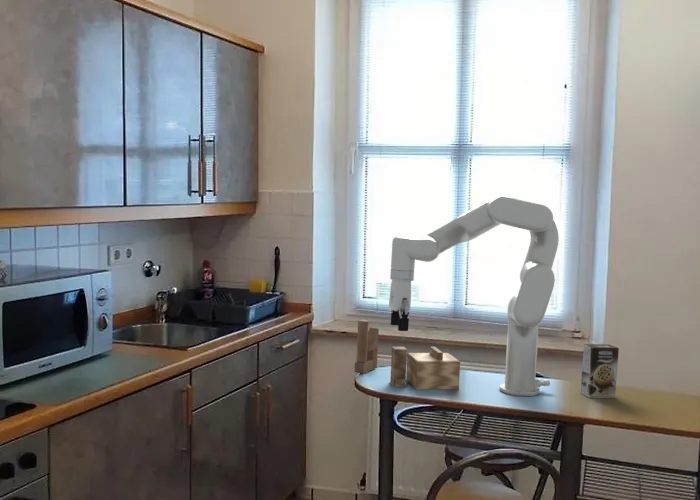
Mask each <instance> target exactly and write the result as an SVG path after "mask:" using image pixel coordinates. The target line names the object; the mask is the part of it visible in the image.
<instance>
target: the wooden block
mask: <svg viewBox="0 0 700 500" xmlns="http://www.w3.org/2000/svg"><path fill="white" fill-rule="evenodd" d="M379 331H380V329H379V327H378V328H377V327H369V320H367V319H359V320H357V339H356V341H357V343H356V361H355V362H354V373H357V374H358V373H359V374H367V373H368V372H370V370H371V371H373V370H375V369H378V350H379V349H378V348H379V333H380V332H379Z"/></svg>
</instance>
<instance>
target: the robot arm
mask: <svg viewBox="0 0 700 500" xmlns="http://www.w3.org/2000/svg"><path fill="white" fill-rule="evenodd" d="M501 224H502V225H506V226H510V227H513V228H516V229H517V228H518V229H522V230H525V231H526V230H527V231H529V235H530V242H529V246H528V249H527V252H526V257H525V259H524V262H523V265H522V267H521V270H520V273H519V280H520V282H521V284H520V287H519V291H518V293H517V294H514V295H513V296H512V298H510V300H509V302H508V305H507V334H506V335H507V337H506V338H507V340H506V353H505V354H506V355H505V356H506V357H505V372H504V374H505V375H504V383H502V384H500V385H499V390H500V391H501V393H504V394H508V395H512V396H520V397H535V396H538V395H539V394H540V392H541V389H540V388H541V387H542V386H543V387H550V385H551V382H550V379H542V378H537V377H536V375H537V361H538V360H537V358H538V343H539V324H540V323H541V322H542V321H543V320H544V317H545V314H546V311H547V308H548V305H549V302H550V299H551V297H552V294H553V290H554V287H555V281H556V278H555V273H554V271H553V269H552V268H553V266H554V262H555V259H556V254H557V251H558V247H559V241H560V240H559V239H560V238H559V237H560V236H559V230H558V226H557V225H556V222H555V220H554V214H553V212H552V210H551V209H550V208H549V207H547V205H544V204H540V203H535V202H531V201H526V200H522V199H518V198H513V197H510V196H506V195H495V196H493V197H491V198H490V199H488V200H486V201H484V202H483V203H480V204H479V205H477V206H475V207H474V208H472V209H470V210H468V211H466V212H464V213H463V214H461V215H459V216H457V217H456V218H454V219H452V220H451V221H449V222H448V223H446V224H444V225H442V226H441V227H439V228H437V229H435V230H434V231H432V232H430V233H428V234H427V235H424V236H422V237H420V238H413V237H410V236H395V237H394V238H393V239H392V241H391V242H392V243H391V260H390V261H391V263H390V276H389V277H390V278H389V279H390V280H391V282H390V289H389V300H388V301H389V302H388V307H389V308H390V309H391V312H390V325H391V326H397V331H399V332H408V331H409V323H410V322H409V321H410V310H411V303H412V282H413V281H414V279H415V263H416V262H415V261H419V262H420V261H421V262H424V263H425V262H426V263H427V262H428V263H429V262H433V261H435V260H436V259H437V258H438V257H439V255H441V254H442V253H443V252H445V251H447V250H449V249H451V248H453V247H455V246H457V245H459V244H462V243H467V242H469V241H472V240H474V239H476V238H478V237H480V236H482V235H483V234H485V233H486V232H489V231H490V230H492V229H494V228H496V227H498V226H500V225H501Z"/></svg>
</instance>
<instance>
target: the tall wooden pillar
mask: <svg viewBox="0 0 700 500" xmlns="http://www.w3.org/2000/svg"><path fill="white" fill-rule="evenodd" d="M407 353H408V349H407V348H406V347H405V346H392V347H391V360H390V362H391V363H390V380H389V381H390V382H389V383H390V384H391V386H392V387H395V382H396V379H405V385H406V383H407V382H406V381H407V380H406V370H407Z"/></svg>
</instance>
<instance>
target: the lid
mask: <svg viewBox="0 0 700 500" xmlns="http://www.w3.org/2000/svg"><path fill="white" fill-rule="evenodd" d="M407 353H408V356H409V357H410V358H412V359H413V360H414V361H415V362H416V363H417V362H420V361H460V360H459V359H457V358H456V357H454V356H453V355H452V354H450V353H449V352H443V351H442V350H440V349H439V348H437V347H436V346H430V347H429V352H407Z"/></svg>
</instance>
